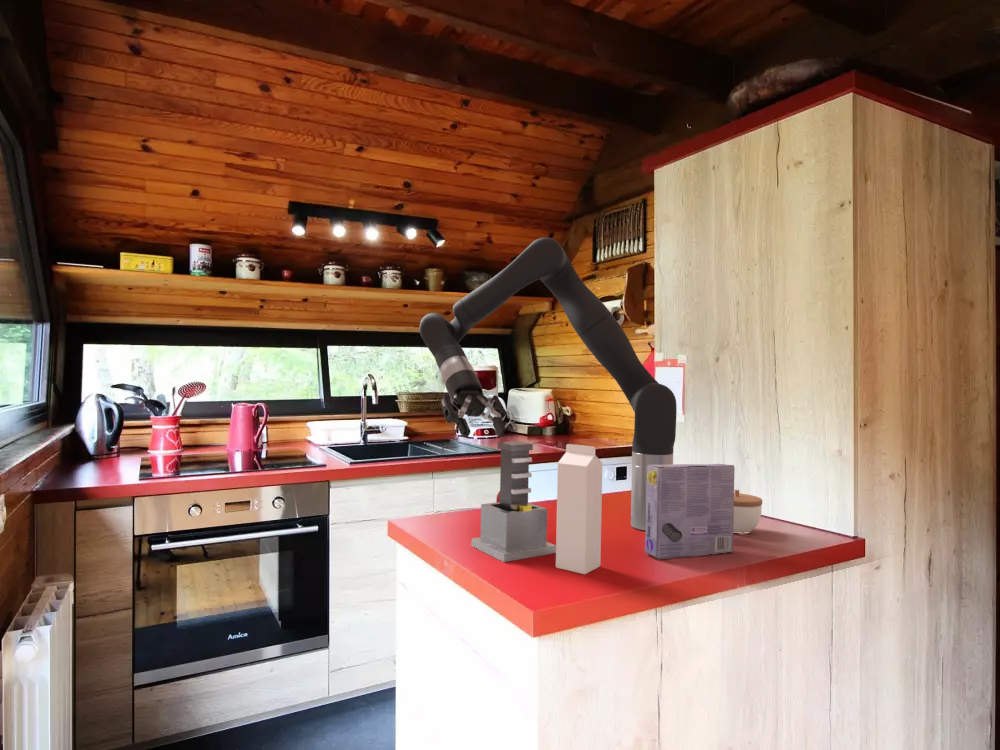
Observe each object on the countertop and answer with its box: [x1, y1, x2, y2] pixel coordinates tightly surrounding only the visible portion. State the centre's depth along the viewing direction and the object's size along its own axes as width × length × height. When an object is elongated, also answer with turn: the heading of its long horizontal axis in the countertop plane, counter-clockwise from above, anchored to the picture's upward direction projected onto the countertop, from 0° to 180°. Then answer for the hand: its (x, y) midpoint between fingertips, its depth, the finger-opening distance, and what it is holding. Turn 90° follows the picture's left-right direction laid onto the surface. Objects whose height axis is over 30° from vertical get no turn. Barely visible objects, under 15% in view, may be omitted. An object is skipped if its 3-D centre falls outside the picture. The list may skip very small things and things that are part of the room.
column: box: [497, 440, 534, 512], centre depth 119 cm, size 5×6×19 cm
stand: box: [470, 502, 556, 563], centre depth 119 cm, size 12×12×10 cm
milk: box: [555, 443, 603, 575], centre depth 109 cm, size 6×6×22 cm
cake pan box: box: [644, 463, 736, 560], centre depth 119 cm, size 19×5×18 cm, turn 110°
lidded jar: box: [733, 489, 763, 533], centre depth 138 cm, size 11×11×9 cm
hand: (485, 434), depth 129 cm, fingers open, 8 cm apart
